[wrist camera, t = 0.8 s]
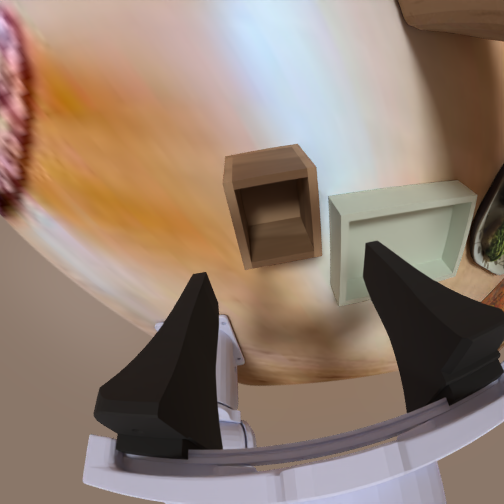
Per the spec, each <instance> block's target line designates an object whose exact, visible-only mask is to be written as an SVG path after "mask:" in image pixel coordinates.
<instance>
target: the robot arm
mask: <svg viewBox="0 0 504 504" xmlns="http://www.w3.org/2000/svg"><path fill="white" fill-rule="evenodd" d="M363 279H364V282H365V285H366V288H367V291H368V293H369V296H370V298H371V300H372V302H373V304H374V306H375V308H376V310H377V312H378V314H379V316H380V318H381V321H382V323H383V325H384V327H385V329H386V331H387V333H388V336H389V338H390V341H391V344H392V347H393V350H394V354H395V357H396V361H397V364H398V368H399V372H400V376H401V381H402V385H403V390H404V396H405V402H406V409H407V414H404V415H401V416H398V417H396V418H393V419H390V420H387V421H384V422H381V423H377V424H374V425H371V426H367V427H364V428H360V429H357V430H353V431H349V432H346V433H341V434H337V435H333V436H328V437H324V438H318V439H313V440H308V441H302V442H297V443H289V444H282V445H274V446H266V447H256V439H255V434H254V432H253V430H252V428H251V427H250V426H249V424H248V423H247V422H246V421H244V420H241V417H240V411H238V410H237V408H238V379H237V365H243V364H244V363H245V359H244V357H243V355H242V352H241V350H240V347H239V345H238V342H237V340H236V337H235V335H234V332H233V330H232V327H231V325H230V322H229V319H228V317H227V316H226V315H219V308H218V301H217V299H216V296H215V294H214V291H213V289H212V286H211V283H210V281H209V278H208V276H207V273H206V272H203V273H197V274H193V275H192V277H191V278H190V280H189V282H188V284H187V286H186V287H185V289H184V291H183V293H182V294H181V296H180V298H179V300H178V301H177V303H176V305H175V306H174V308H173V310H172V311H171V313H170V314H169V316H168V317H167V319H166V320H165V322H161V323H156V324H155V329H156V330H157V333H156V335H155V336H154V337H153V338H152V340H151V341H150V342H149V343H148V344H147V345H146V347H145V348H144V349H143V350H142V351H141V352H140V353H139V354H138V355H137V356H136V357H135V358H134V360H132V361H131V362H130V363H129V364H128V365H127V366H126V367H125V368H124V369H123V370H122V371H120V373H118V374H117V375H116V376H114V377H113V378H112V379H111V380H109V381H108V382H107V383H105V384H104V385H103V386H101V387H100V389H99V393H98V396H97V401H96V405H95V410H94V417H95V418H96V420H97V421H98V422H100V423H101V424H103V425H104V426H106V427H107V428H109V429H111V430H112V431H114V432H116V433H117V434H118V436H117V440H116V439H114V438H110V437H105V436H99V435H94V434H91V435H90V436H89V442H88V447H87V454H86V460H85V468H84V475H83V483H85V484H88V485H91V486H94V487H97V488H101V489H104V490H108V491H112V492H116V493H119V494H123V495H128V496H132V497H137V498H143V499H148V500H154V501H160V502H164V503H165V504H447V503H446V498H445V493H444V489H443V484H442V480H441V475H440V471H439V468H438V463H437V460H439V459H441V458H444V457H446V456H447V455H449V454H451V453H453V452H455V451H457V450H459V449H460V448H462V447H464V446H466V445H468V444H469V443H471V442H473V441H474V440H476V439H478V438H479V437H481V436H482V435H484V434H486V433H487V432H489V431H490V430H492V429H493V428H495V427H496V426H497V425H499V424H500V423H502V422H503V421H504V361H503V362H502V363H501V364H500V362H499V360H498V358H499V357H500V353H499V351H498V348H499V347H500V345H501V344H502V343H503V341H504V312H503V310H502V309H500V308H497V307H493V306H490V305H487V304H483V303H481V302H478V301H475V300H473V299H470V298H468V297H466V296H463V295H461V294H459V293H457V292H455V291H453V290H451V289H449V288H447V287H445V286H443V285H442V284H440V283H438V282H436V281H435V280H433V279H431V278H430V277H428V276H427V275H425V274H424V273H422V272H421V271H419V270H418V269H416V268H415V267H413V266H412V265H410V264H409V263H408V262H406V261H405V260H404V259H402V258H401V257H399V256H398V255H397V254H395V253H394V252H393V251H391V250H390V249H389V248H387V247H386V246H385V245H383V244H382V243H380V242H379V241H372V242H367V243H365V256H364V267H363ZM400 434H401V435H400ZM398 435H399V436H398ZM395 436H398V437H397V440H396V441H392V442H388V443H385V444H382V445H379V446H375V447H372V448H369V449H365V450H362V451H358V452H355V453H351V454H347V455H343V456H339V457H334V458H330V459H326V460H320V461H315V462H309V463H305V464H300V465H295V466H291V467H286V468H281V469H274V470H267V471H260V472H257V471H256V468H254V467H253V466H259V465H269V464H279V463H287V462H294V461H301V460H307V459H312V458H318V457H322V456H327V455H332V454H336V453H341V452H344V451H349V450H352V449H356V448H360V447H364V446H367V445H370V444H374V443H377V442H380V441H383V440H386V439H389V438H392V437H395Z"/></svg>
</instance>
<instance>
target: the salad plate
mask: <svg viewBox="0 0 504 504" xmlns="http://www.w3.org/2000/svg"><path fill="white" fill-rule="evenodd" d="M488 214H489V215H488ZM470 252H471V256H472V258H473V260H474V261H475V262H476V263H477V264H478V265H480V266H482V267H484V268H486V269H487V270H489V271H490V272H491V273H494V274H497V275H503V274H504V164H503V165H502V167H501V169H500V170H499V172H498V174H497V175H496V177H495V179H494V181H493V183H492V185H491V187H490V188H489V190H488V192H487V194H486V195H485V197H484V199H483V201H482V203H481V205H480V207H479V209H478V211H477V214H476V216H475V219H474V222H473V225H472V229H471V234H470Z"/></svg>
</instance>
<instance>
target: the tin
mask: <svg viewBox="0 0 504 504" xmlns="http://www.w3.org/2000/svg"><path fill="white" fill-rule="evenodd" d="M481 303H483V304H487V305H490V306H493V307H497V308H500V309H502V310H503V312H504V279H503V280H502V281H501V282H500V283H499V284H498V285H497V286H496V287H495V288H494V290H493V291H492V292H491V293H490V294H489V295H488V296H487V297H486V298H485V299H484V300H483V301H482V302H481ZM503 347H504V341H503V343H502V344H501V345H500V347H499V348H498V351H500V350H501V349H502V348H503Z"/></svg>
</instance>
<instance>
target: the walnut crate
mask: <svg viewBox="0 0 504 504" xmlns="http://www.w3.org/2000/svg"><path fill="white" fill-rule="evenodd" d="M223 187H224V191H225V195H226V199H227V203H228V207H229V210H230V214H231V218H232V222H233V226H234V230H235V234H236V238H237V241H238V245H239V249H240V253H241V257H242V261H243V264H244V268H245V270H247V269H253V268H258V267H264V266H270V265H275V264H281V263H286V262H292V261H297V260H302V259H308V258H313V257H318V256H322V244H321V224H320V208H319V194H318V181H317V170H316V166H315V165H314V164H313V162H312V161H311V160H310V159H309V157H308V156H307V155H306V154H305V152H304V151H303V150H302V149H301V147H300V146H299V145H298V144H294V145H287V146H280V147H274V148H268V149H262V150H257V151H251V152H246V153H241V154H236V155H231V156H226V157H225V166H224V175H223Z"/></svg>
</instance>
